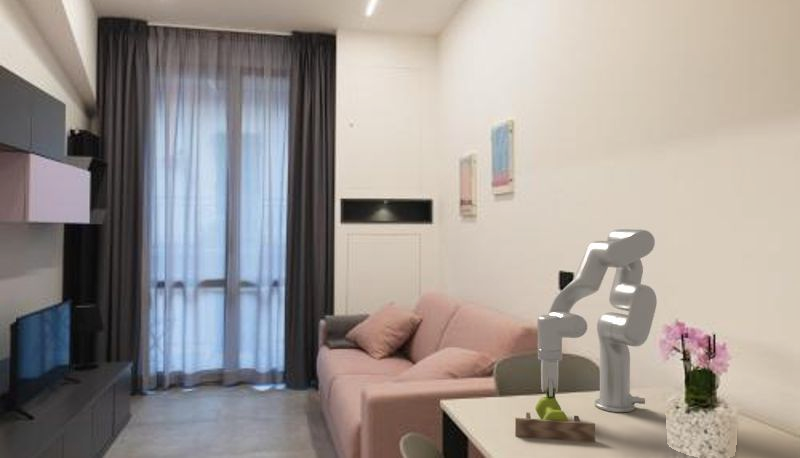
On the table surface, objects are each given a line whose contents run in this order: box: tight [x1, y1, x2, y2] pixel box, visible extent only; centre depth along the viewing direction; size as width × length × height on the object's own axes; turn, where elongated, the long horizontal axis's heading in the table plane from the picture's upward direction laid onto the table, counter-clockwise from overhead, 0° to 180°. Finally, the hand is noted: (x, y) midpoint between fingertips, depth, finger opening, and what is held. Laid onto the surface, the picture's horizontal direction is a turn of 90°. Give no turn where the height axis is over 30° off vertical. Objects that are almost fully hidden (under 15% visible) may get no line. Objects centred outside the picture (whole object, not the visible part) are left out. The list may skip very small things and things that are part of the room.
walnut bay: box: [514, 412, 596, 443], centre depth 170 cm, size 22×11×5 cm, turn 79°
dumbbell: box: [534, 396, 570, 421], centre depth 173 cm, size 16×8×7 cm, turn 175°
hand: (550, 411), depth 184 cm, fingers closed
